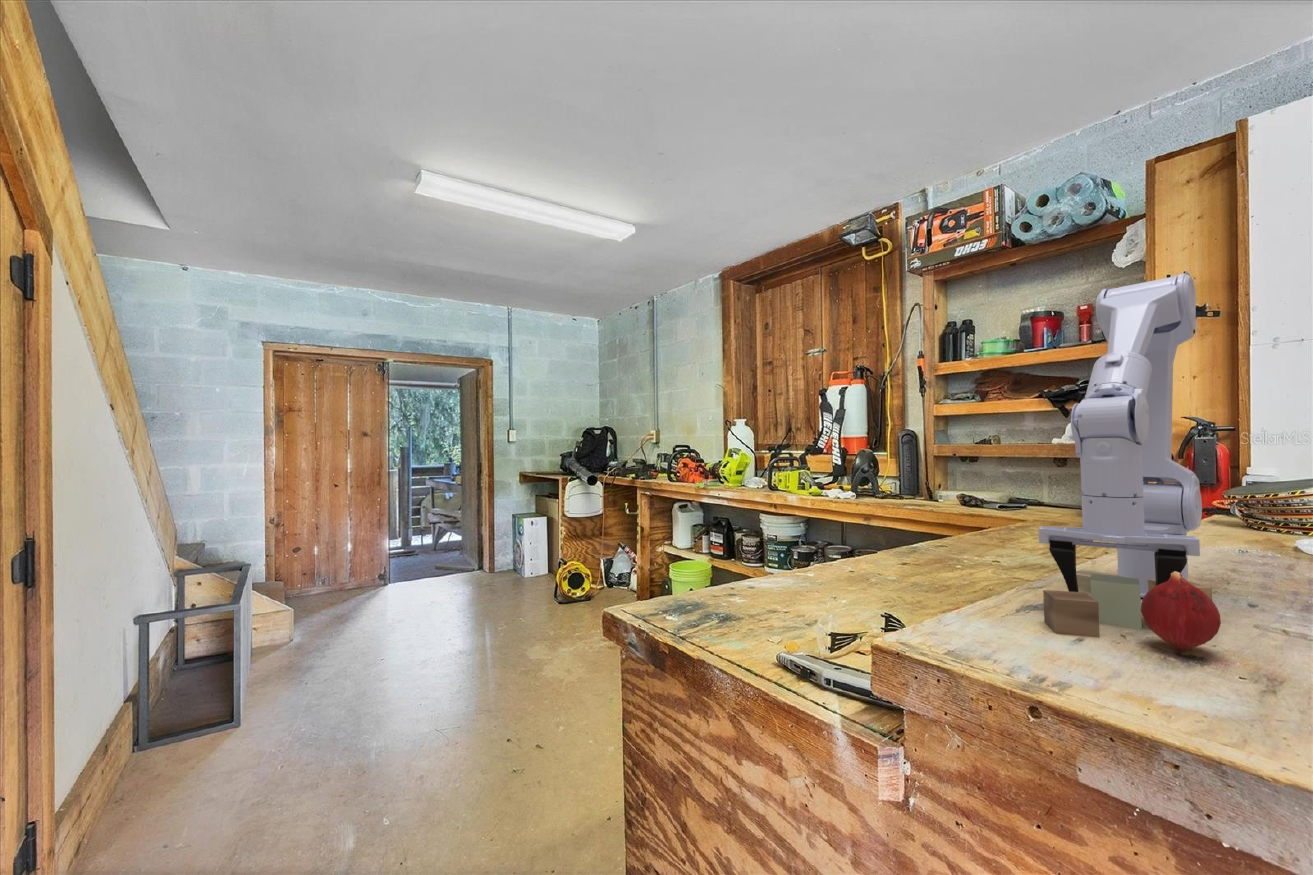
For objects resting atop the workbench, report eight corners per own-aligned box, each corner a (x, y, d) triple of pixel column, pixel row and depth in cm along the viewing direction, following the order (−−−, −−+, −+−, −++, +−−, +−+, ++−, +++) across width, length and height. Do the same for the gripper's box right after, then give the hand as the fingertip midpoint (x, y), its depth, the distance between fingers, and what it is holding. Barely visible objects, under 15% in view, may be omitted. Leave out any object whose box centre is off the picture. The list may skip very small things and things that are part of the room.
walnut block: (1044, 623, 64) (1043, 589, 64) (1084, 626, 62) (1083, 592, 62) (1056, 634, 60) (1054, 599, 60) (1099, 638, 59) (1098, 601, 59)
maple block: (1082, 598, 73) (1081, 569, 73) (1119, 605, 70) (1118, 574, 70) (1071, 603, 71) (1070, 573, 71) (1109, 610, 68) (1108, 579, 68)
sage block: (1092, 612, 67) (1091, 573, 67) (1139, 619, 64) (1138, 578, 64) (1092, 622, 64) (1090, 580, 64) (1141, 629, 61) (1140, 586, 61)
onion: (1239, 663, 51) (1235, 580, 51) (1169, 660, 52) (1166, 578, 52) (1191, 641, 57) (1188, 566, 57) (1129, 638, 58) (1126, 565, 58)
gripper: (1034, 495, 66) (1038, 605, 66) (1201, 501, 56) (1206, 630, 56) (1040, 491, 71) (1043, 592, 71) (1193, 496, 62) (1198, 613, 62)
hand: (1115, 608), depth 64 cm, fingers open, 7 cm apart
